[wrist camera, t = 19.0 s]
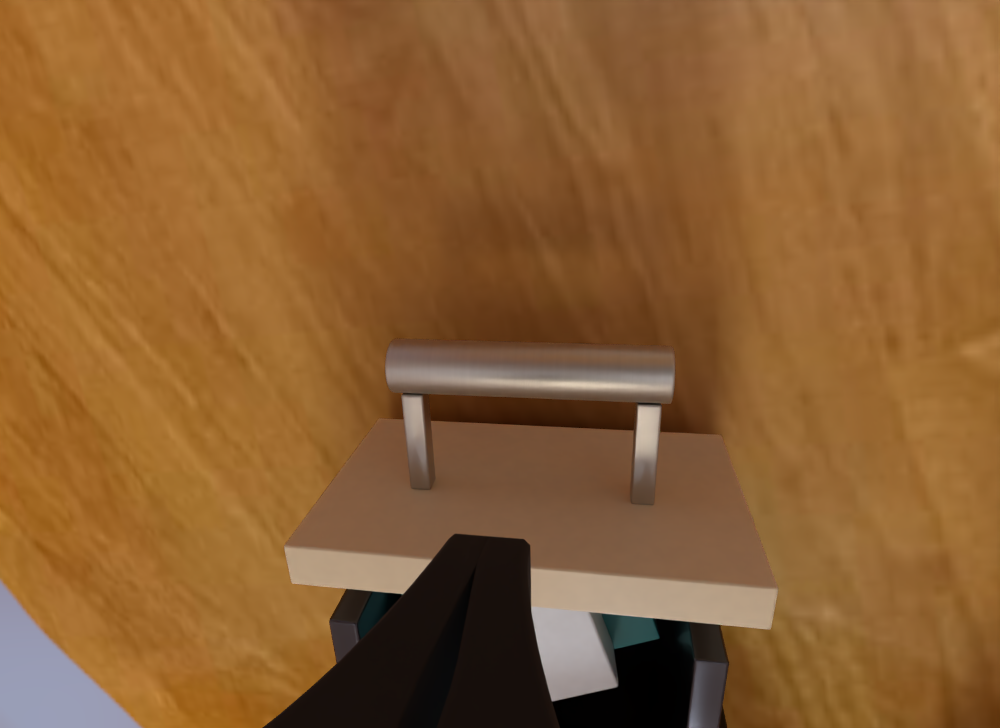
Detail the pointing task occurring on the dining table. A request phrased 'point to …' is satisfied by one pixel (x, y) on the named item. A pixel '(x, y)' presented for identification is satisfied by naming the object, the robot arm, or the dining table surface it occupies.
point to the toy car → (585, 647)
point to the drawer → (553, 516)
